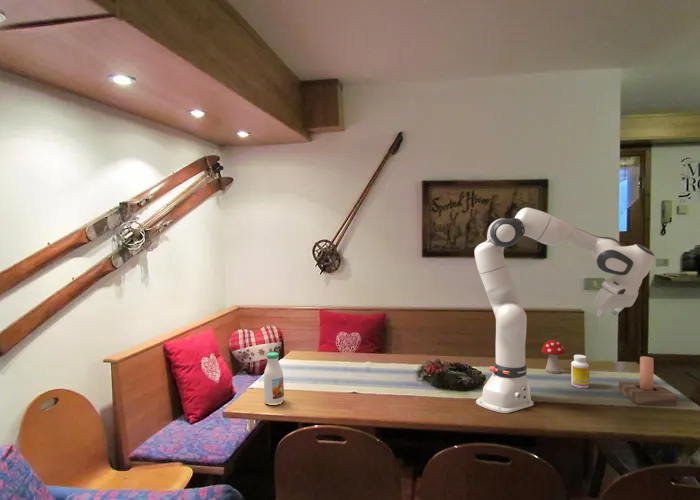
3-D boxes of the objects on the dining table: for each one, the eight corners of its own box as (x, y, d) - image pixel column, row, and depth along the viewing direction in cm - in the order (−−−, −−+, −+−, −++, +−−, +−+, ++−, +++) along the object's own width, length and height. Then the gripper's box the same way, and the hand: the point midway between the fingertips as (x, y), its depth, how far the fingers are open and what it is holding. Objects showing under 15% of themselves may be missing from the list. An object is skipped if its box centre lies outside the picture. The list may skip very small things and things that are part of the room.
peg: (650, 401, 170) (651, 360, 169) (637, 398, 173) (638, 358, 172) (654, 398, 172) (655, 358, 172) (642, 395, 176) (642, 355, 175)
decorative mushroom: (560, 369, 209) (560, 338, 209) (567, 375, 201) (567, 342, 200) (539, 369, 210) (538, 338, 210) (545, 375, 202) (545, 342, 201)
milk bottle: (265, 407, 173) (263, 357, 172) (263, 400, 180) (262, 351, 179) (285, 404, 175) (283, 355, 174) (282, 397, 182) (281, 350, 181)
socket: (676, 405, 165) (677, 395, 165) (637, 405, 167) (637, 394, 166) (655, 391, 179) (655, 382, 179) (618, 391, 180) (618, 381, 180)
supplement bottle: (591, 389, 184) (591, 358, 183) (573, 388, 185) (573, 358, 184) (585, 383, 190) (585, 354, 189) (569, 382, 191) (569, 353, 191)
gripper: (633, 280, 173) (615, 309, 179) (600, 281, 164) (583, 311, 170) (647, 289, 168) (629, 318, 174) (614, 291, 159) (596, 322, 165)
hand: (606, 315), depth 172 cm, fingers open, 8 cm apart
